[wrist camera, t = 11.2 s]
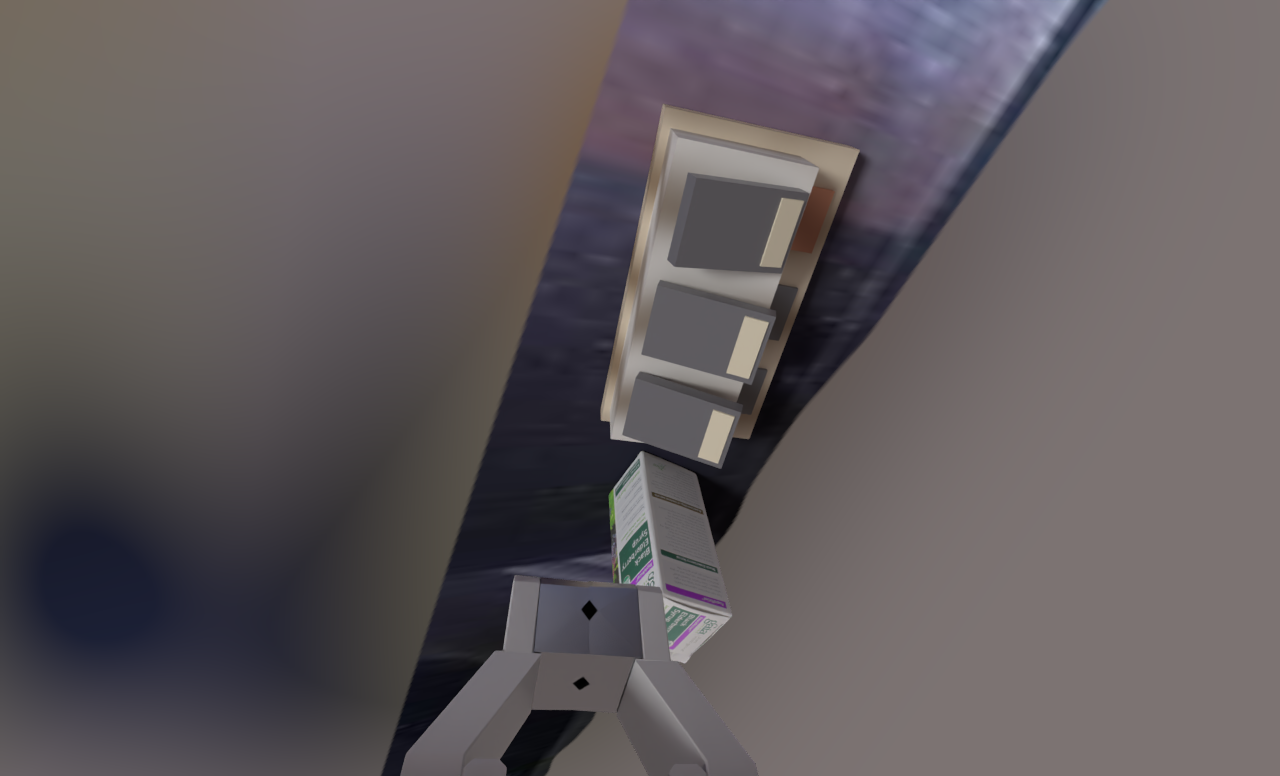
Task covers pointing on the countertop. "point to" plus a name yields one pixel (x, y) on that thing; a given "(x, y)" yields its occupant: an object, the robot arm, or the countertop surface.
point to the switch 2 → (681, 419)
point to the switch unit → (734, 155)
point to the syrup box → (669, 549)
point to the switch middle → (707, 332)
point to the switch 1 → (735, 224)
